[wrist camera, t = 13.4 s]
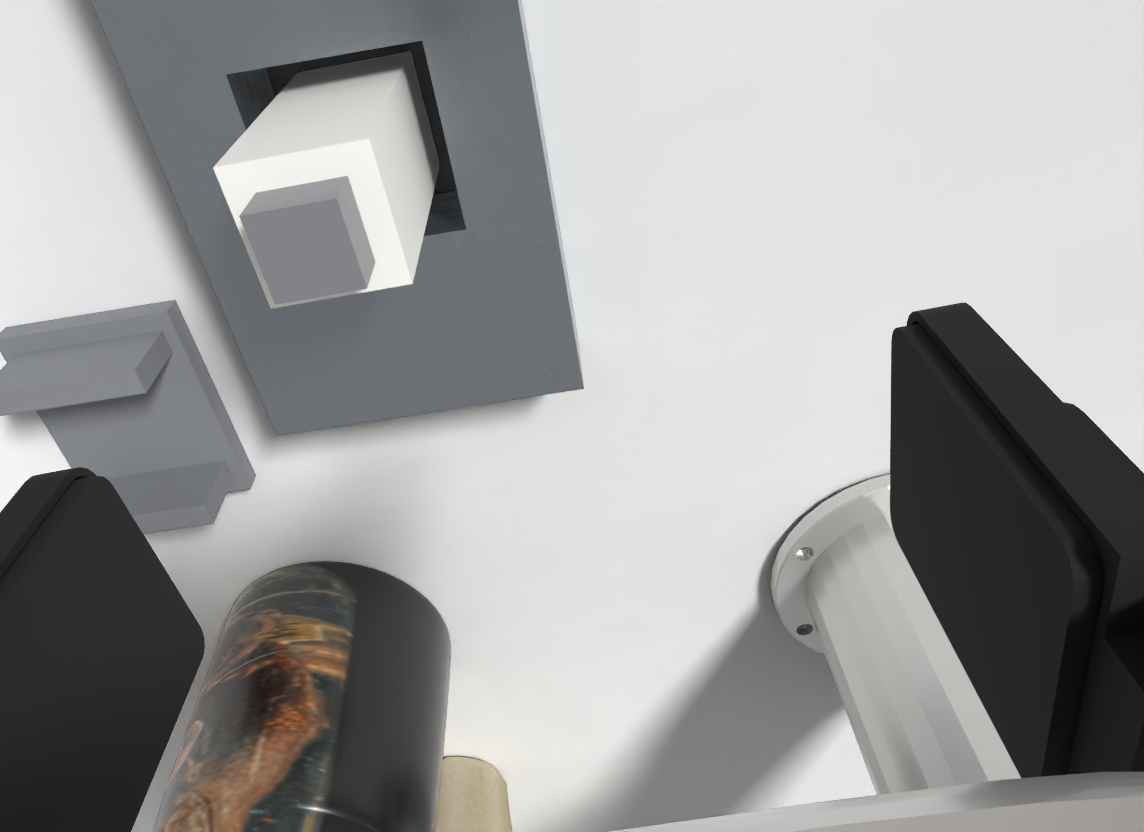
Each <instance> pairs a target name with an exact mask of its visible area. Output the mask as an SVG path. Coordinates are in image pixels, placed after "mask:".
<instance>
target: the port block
mask: <svg viewBox="0 0 1144 832" xmlns="http://www.w3.org/2000/svg"><path fill="white" fill-rule="evenodd" d="M90 1H91V3H92V5H93V8H94V10H95V12H96V15H97V17H98V19H99V22H100V24H101V26H102V29H103V31H104V33H105V36H106V38H107V40H108V43H109V45H110V47H111V50H112V52H113V54H114V57H115V59H116V61H117V64H118V66H119V68H120V71H121V73H122V75H123V78H124V80H125V83H126V85H127V87H128V90H129V92H130V94H131V97H132V99H133V101H134V104H135V106H136V108H137V111H138V113H139V115H140V118H141V120H142V122H143V125H144V127H145V129H146V132H147V134H148V136H149V139H150V141H151V143H152V146H153V148H154V150H155V153H156V155H157V157H158V160H159V162H160V164H161V167H162V169H163V171H164V174H165V176H166V178H167V181H168V183H169V185H170V188H171V190H172V192H173V195H174V197H175V199H176V202H177V204H178V206H179V209H180V211H181V214H182V216H183V218H184V221H185V223H186V225H187V228H188V230H189V232H190V235H191V237H192V239H193V242H194V244H195V246H196V249H197V251H198V253H199V256H200V258H201V260H202V263H203V265H204V267H205V270H206V272H207V274H208V277H209V279H210V281H211V284H212V286H213V288H214V291H215V293H216V295H217V298H218V300H219V302H220V305H221V307H222V309H223V312H224V314H225V316H226V319H227V321H228V323H229V326H230V328H231V330H232V333H233V335H234V338H235V340H236V342H237V345H238V347H239V349H240V352H241V354H242V356H243V359H244V361H245V363H246V366H247V368H248V370H249V373H250V375H251V377H252V380H253V382H254V384H255V387H256V389H257V391H258V394H259V396H260V398H261V401H262V403H263V405H264V408H265V410H266V412H267V415H268V417H269V419H270V422H271V424H272V426H273V429H274V431H275V433H276V436H281V435H287V434H294V433H300V432H307V431H313V430H320V429H326V428H333V427H339V426H346V425H352V424H359V423H365V422H372V421H378V420H384V419H391V418H397V417H404V416H410V415H417V414H423V413H430V412H436V411H443V410H449V409H456V408H462V407H468V406H475V405H481V404H488V403H494V402H501V401H507V400H514V399H520V398H527V397H533V396H540V395H546V394H553V393H559V392H565V391H572V390H578V389H584V386H583V377H582V369H581V360H580V352H579V343H578V335H577V329H576V323H575V317H574V311H573V305H572V299H571V293H570V288H569V282H568V276H567V270H566V264H565V258H564V252H563V246H562V240H561V234H560V228H559V222H558V216H557V210H556V204H555V198H554V192H553V186H552V180H551V174H550V168H549V162H548V156H547V151H546V145H545V139H544V133H543V127H542V121H541V115H540V109H539V103H538V97H537V91H536V85H535V79H534V73H533V67H532V61H531V55H530V49H529V43H528V37H527V31H526V25H525V19H524V14H523V8H522V2H521V0H90ZM417 41H422V42H423V46H424V51H425V55H426V59H427V64H428V68H429V72H430V76H431V81H432V85H433V89H434V94H435V98H436V102H437V106H438V111H439V115H440V119H441V124H442V128H443V132H444V136H445V141H446V145H447V149H448V154H449V158H450V162H451V166H452V171H453V175H454V179H455V184H456V188H457V191H451V192H445V193H439V194H433V197H432V202H431V206H430V210H429V215H428V219H427V224H426V228H425V232H424V237H423V241H422V245H421V250H420V254H419V258H418V263H417V267H416V272H415V276H414V280H413V284H409V285H403V286H398V287H392V288H386V289H381V290H375V291H369V292H364V293H358V294H352V295H347V296H341V297H335V298H330V299H324V300H318V301H313V302H307V303H301V304H296V305H290V306H284V307H278V308H273V309H271V308H270V306H269V303H268V301H267V298H266V296H265V293H264V291H263V289H262V286H261V284H260V281H259V279H258V276H257V274H256V272H255V269H254V267H253V264H252V262H251V259H250V257H249V254H248V252H247V250H246V247H245V245H244V242H243V240H242V237H241V235H240V232H239V230H238V228H237V225H236V223H235V220H234V218H233V215H232V213H231V211H230V208H229V206H228V203H227V201H226V198H225V196H224V193H223V191H222V189H221V186H220V184H219V181H218V179H217V176H216V174H215V171H214V169H213V167H214V166H215V165H216V164H217V162H218V161H219V160H220V159H221V158H222V157H223V156H224V155H225V153H226V152H227V151H228V150H229V149H230V148H231V147H232V146H233V144H234V143H235V142H236V141H237V140H238V139H239V138H240V137H241V135H242V134H243V133H244V132H245V131H246V130H247V129H248V128H249V126H250V125H251V124H252V123H253V122H254V121H255V120H256V119H257V117H258V116H259V115H260V114H261V113H262V112H263V111H264V110H265V108H266V107H267V106H268V105H269V104H270V103H271V102H272V101H273V99H274V98H275V97H276V96H275V93H274V90H273V87H272V84H271V81H270V78H269V75H268V72H267V69H266V68H267V67H273V66H279V65H284V64H290V63H296V62H302V61H308V60H313V59H319V58H325V57H331V56H336V55H342V54H348V53H354V52H359V51H365V50H371V49H377V48H383V47H388V46H394V45H400V44H406V43H411V42H417Z"/></svg>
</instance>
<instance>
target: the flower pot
mask: <svg viewBox="0 0 1144 832" xmlns="http://www.w3.org/2000/svg"><path fill="white" fill-rule="evenodd" d="M436 832H512V827H511V819H510V811H509V803H508V794H507V784H506V782H505V780H504V779H503V778H502V776H501V775H500V773H499V772H498V770H497V769H496V768H495V767H494V766H492V765H491V764H489V763H487V762H484V761H481V760H478V759H473V758H467V757H446V758H445V759H443V764H442V775H441V786H440V798H439V808H438V817H437V827H436Z"/></svg>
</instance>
